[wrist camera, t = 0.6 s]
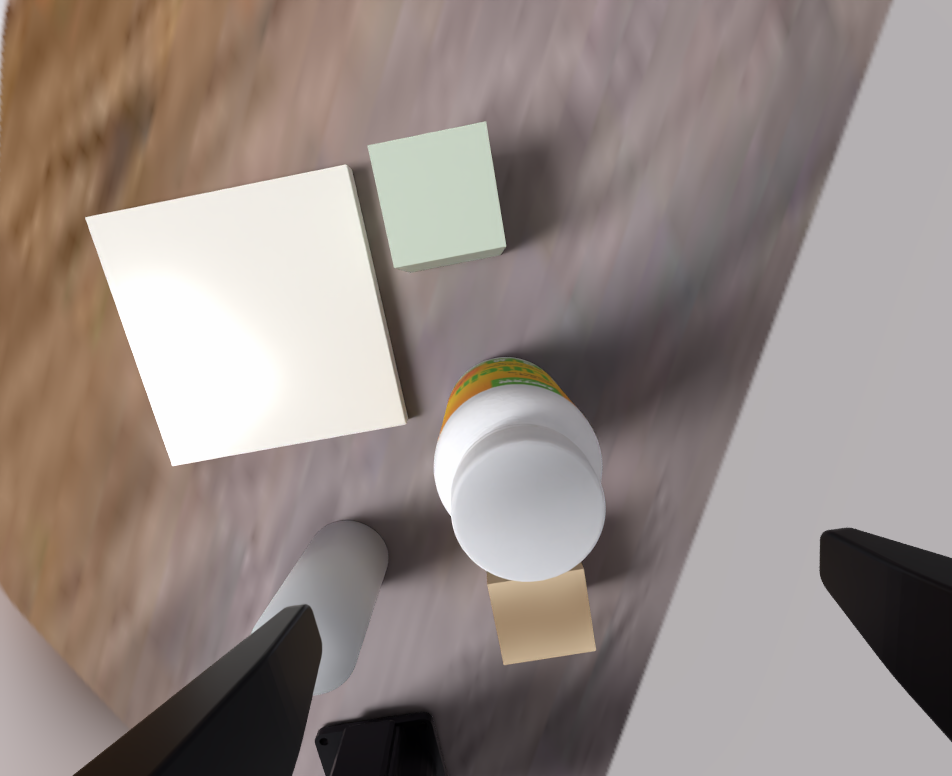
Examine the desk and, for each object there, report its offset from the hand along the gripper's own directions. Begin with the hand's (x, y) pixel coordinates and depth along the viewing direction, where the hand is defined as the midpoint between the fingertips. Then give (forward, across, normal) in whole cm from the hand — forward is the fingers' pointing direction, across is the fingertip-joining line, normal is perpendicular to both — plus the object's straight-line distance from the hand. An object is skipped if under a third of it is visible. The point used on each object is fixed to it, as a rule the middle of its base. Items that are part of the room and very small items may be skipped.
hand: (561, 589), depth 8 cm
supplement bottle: (+13, 0, +1) cm, 13 cm away
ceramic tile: (+13, +10, -5) cm, 18 cm away
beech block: (+13, 0, +9) cm, 16 cm away
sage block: (+13, +2, -8) cm, 16 cm away
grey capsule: (+13, +9, +7) cm, 17 cm away
